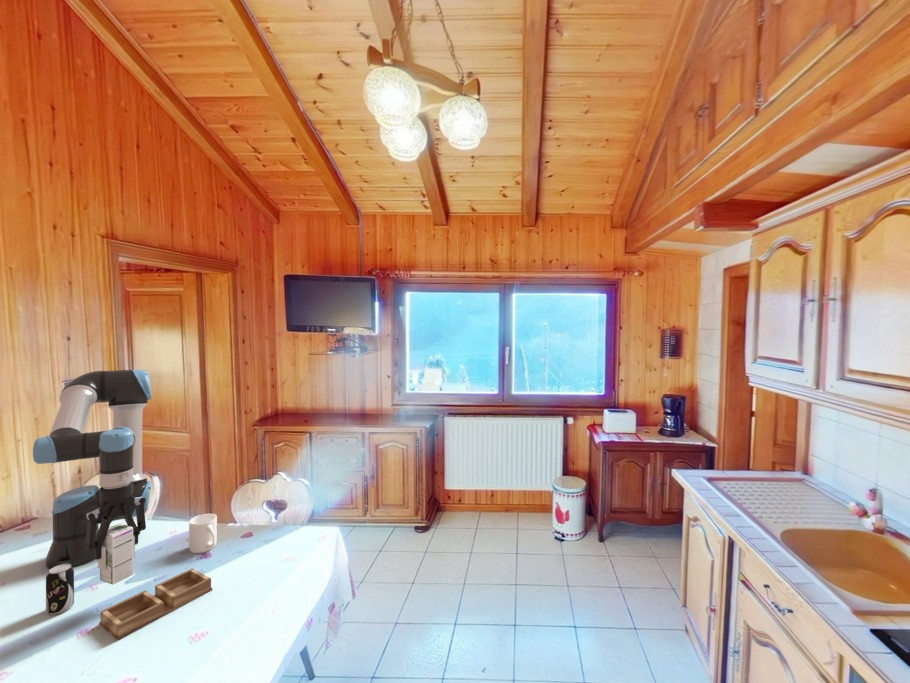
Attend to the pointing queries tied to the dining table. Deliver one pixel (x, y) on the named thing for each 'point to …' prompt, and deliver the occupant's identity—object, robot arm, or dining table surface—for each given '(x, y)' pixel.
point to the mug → (202, 533)
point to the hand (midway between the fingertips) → (116, 562)
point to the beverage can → (59, 589)
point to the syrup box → (118, 554)
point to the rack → (154, 603)
